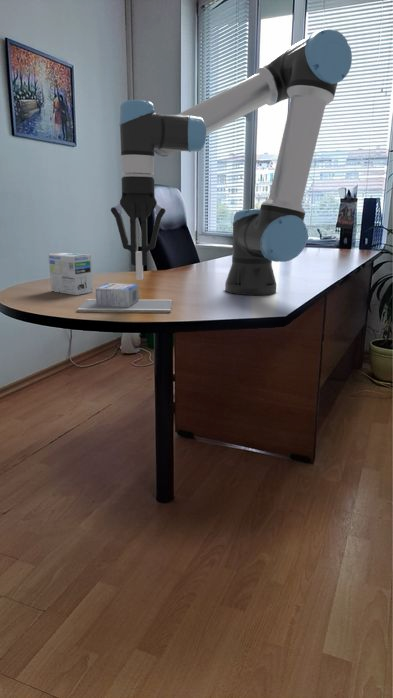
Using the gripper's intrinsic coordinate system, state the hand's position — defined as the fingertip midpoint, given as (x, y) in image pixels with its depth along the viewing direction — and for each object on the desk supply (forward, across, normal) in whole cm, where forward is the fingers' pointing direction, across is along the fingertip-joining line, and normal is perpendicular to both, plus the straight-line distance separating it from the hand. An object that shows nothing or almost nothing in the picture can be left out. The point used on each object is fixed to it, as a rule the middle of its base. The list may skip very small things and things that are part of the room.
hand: (139, 278), depth 116 cm
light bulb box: (+7, +21, -20) cm, 30 cm away
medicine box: (+4, +1, 0) cm, 4 cm away
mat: (+7, +3, 0) cm, 8 cm away
